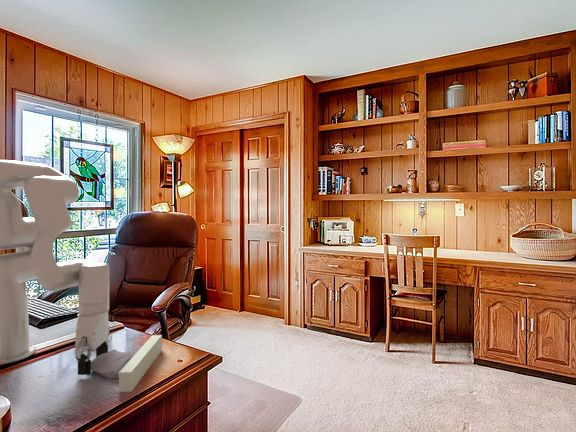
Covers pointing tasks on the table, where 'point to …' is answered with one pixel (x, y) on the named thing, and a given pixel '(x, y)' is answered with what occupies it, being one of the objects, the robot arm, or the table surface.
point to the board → (139, 364)
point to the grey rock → (111, 363)
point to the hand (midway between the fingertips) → (93, 365)
